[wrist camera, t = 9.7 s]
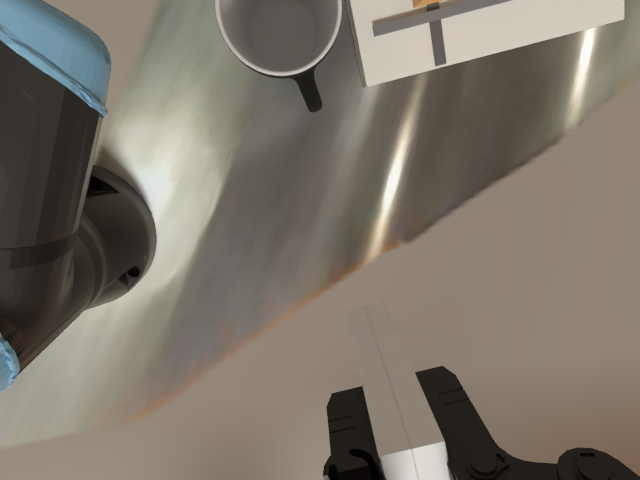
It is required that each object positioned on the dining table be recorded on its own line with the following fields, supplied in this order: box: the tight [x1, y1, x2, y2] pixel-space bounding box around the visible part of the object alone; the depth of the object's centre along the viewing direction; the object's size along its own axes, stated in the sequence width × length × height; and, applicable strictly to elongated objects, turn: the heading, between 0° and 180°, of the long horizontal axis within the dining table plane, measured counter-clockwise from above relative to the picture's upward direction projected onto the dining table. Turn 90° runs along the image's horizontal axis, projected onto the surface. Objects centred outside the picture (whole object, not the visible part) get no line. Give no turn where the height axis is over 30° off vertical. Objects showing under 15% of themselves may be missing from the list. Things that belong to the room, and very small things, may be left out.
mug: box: [215, 0, 342, 112], centre depth 33 cm, size 12×9×10 cm
